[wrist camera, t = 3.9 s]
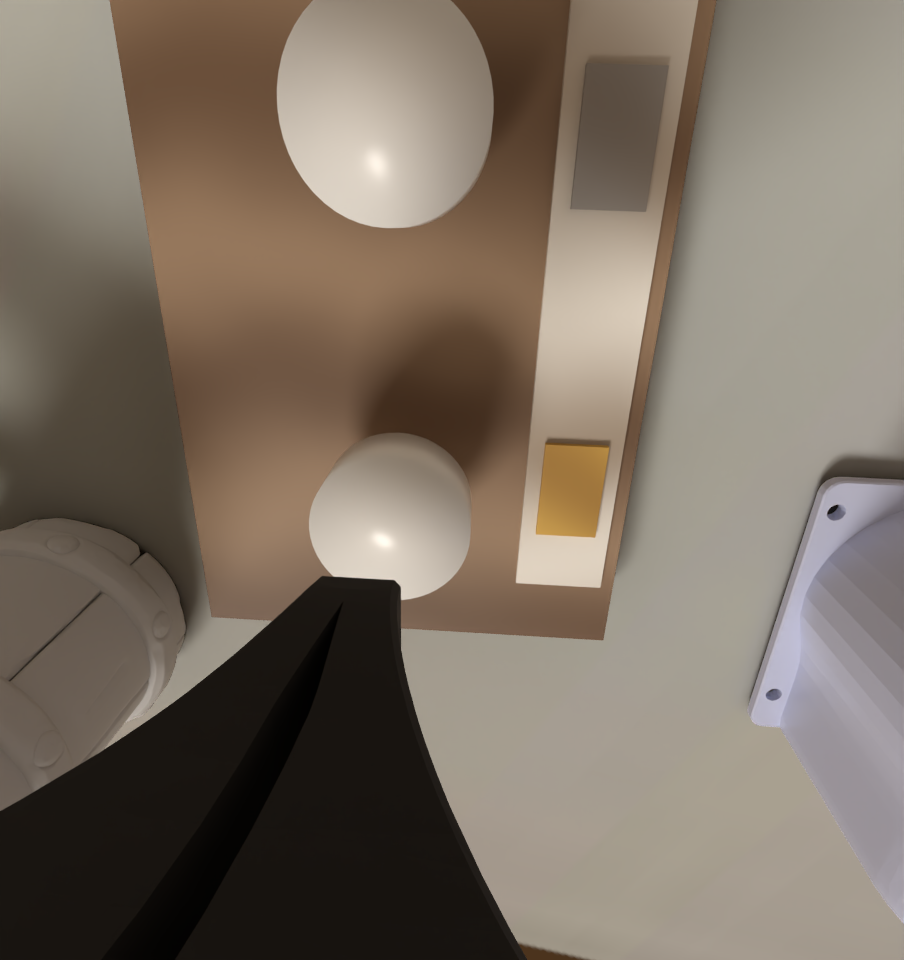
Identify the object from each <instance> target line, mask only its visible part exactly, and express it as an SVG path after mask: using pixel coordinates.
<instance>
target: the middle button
mask: <svg viewBox="0 0 904 960" xmlns="http://www.w3.org/2000/svg"><path fill="white" fill-rule="evenodd" d="M277 109H278V116H279V123H280V127H281V132H282V136H283V139H284V142H285V145H286V148H287V150H288V153H289V155H290V157H291V159H292V162H293V164H294V166H295V168H296V169H297V171H298V172H299V174H300V176H301V177H302V179H303V180H304V182H305V183H306V184H307V185H308V187H309V188H310V189H311V190H312V191H313V193H314V194H315V195H316V196H317V197H319V198H320V199H321V200H322V201H323V202H324V203H325V204H326V205H328V206H329V207H330V208H332V209H333V210H334V211H336V212H337V213H339V214H341V215H343V216H344V217H346V218H348V219H350V220H353V221H355V222H358V223H360V224H364V225H368V226H372V227H380V228H410V227H416V226H421V225H424V224H427V223H430V222H433V221H435V220H437V219H439V218H441V217H443V216H444V215H446V214H447V213H449V212H450V211H451V210H453V209H454V208H455V207H456V206H457V205H458V204H459V203H461V202H462V200H463V199H464V198H465V197H466V196H467V195H468V193H469V192H470V191H471V189H472V188H473V186H474V185H475V183H476V182H477V180H478V178H479V176H480V174H481V172H482V170H483V167H484V164H485V161H486V158H487V155H488V151H489V147H490V142H491V133H492V123H493V113H494V96H493V87H492V79H491V74H490V70H489V65H488V61H487V59H486V56H485V53H484V50H483V47H482V45H481V43H480V41H479V39H478V37H477V35H476V33H475V31H474V29H473V27H472V26H471V24H470V23H469V21H468V20H467V18H466V17H465V15H464V14H463V13H462V12H461V11H460V10H459V8H458V7H457V6H456V5H455V4H454V3H453V2H452V1H451V0H313V1H312V2H311V3H310V4H309V5H308V6H307V8H306V9H305V10H304V11H303V12H302V14H301V16H300V17H299V19H298V20H297V22H296V23H295V25H294V27H293V29H292V31H291V33H290V35H289V37H288V39H287V42H286V45H285V48H284V51H283V54H282V57H281V62H280V67H279V71H278V81H277Z"/></svg>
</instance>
